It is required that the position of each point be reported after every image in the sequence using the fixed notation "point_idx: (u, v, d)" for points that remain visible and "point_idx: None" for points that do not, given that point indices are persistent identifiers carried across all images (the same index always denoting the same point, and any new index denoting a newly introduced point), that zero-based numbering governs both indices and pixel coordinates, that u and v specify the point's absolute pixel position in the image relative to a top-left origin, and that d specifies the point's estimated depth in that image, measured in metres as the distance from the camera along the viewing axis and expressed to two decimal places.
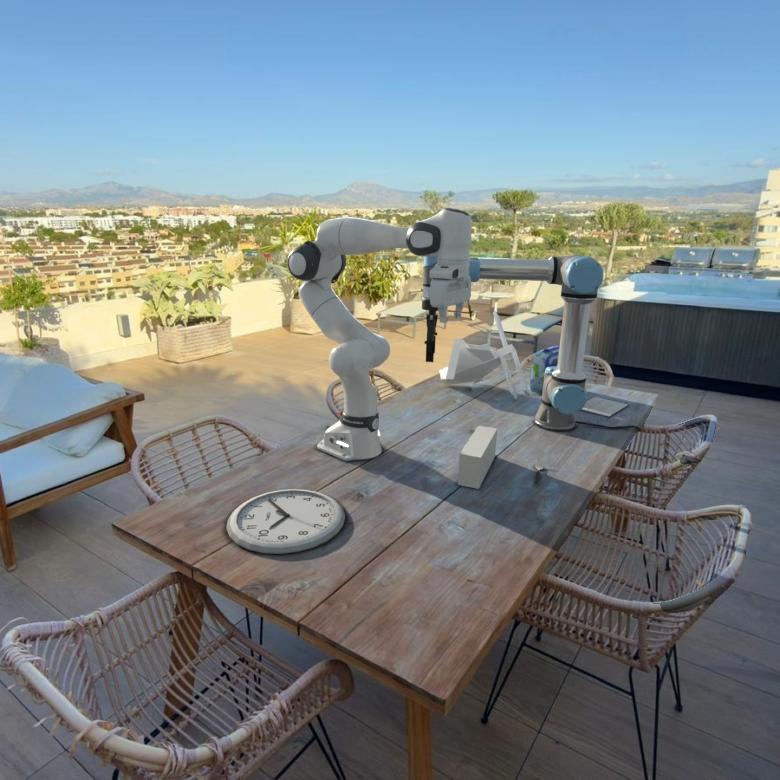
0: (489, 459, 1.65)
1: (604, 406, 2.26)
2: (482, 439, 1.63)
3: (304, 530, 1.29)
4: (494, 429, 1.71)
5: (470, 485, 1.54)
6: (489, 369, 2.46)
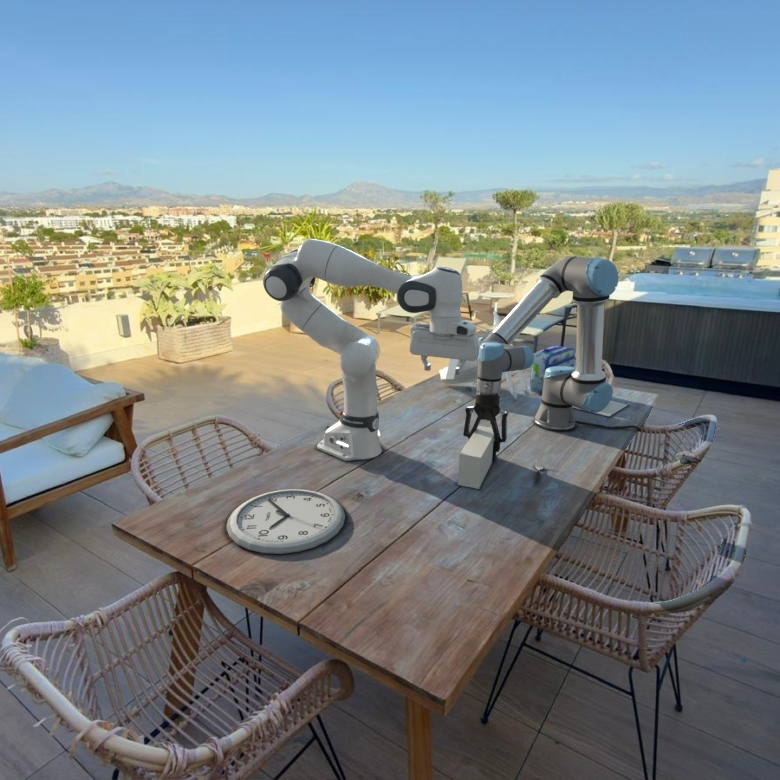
0: (489, 459, 1.65)
1: None
2: (482, 439, 1.63)
3: (304, 530, 1.29)
4: None
5: (470, 485, 1.54)
6: None
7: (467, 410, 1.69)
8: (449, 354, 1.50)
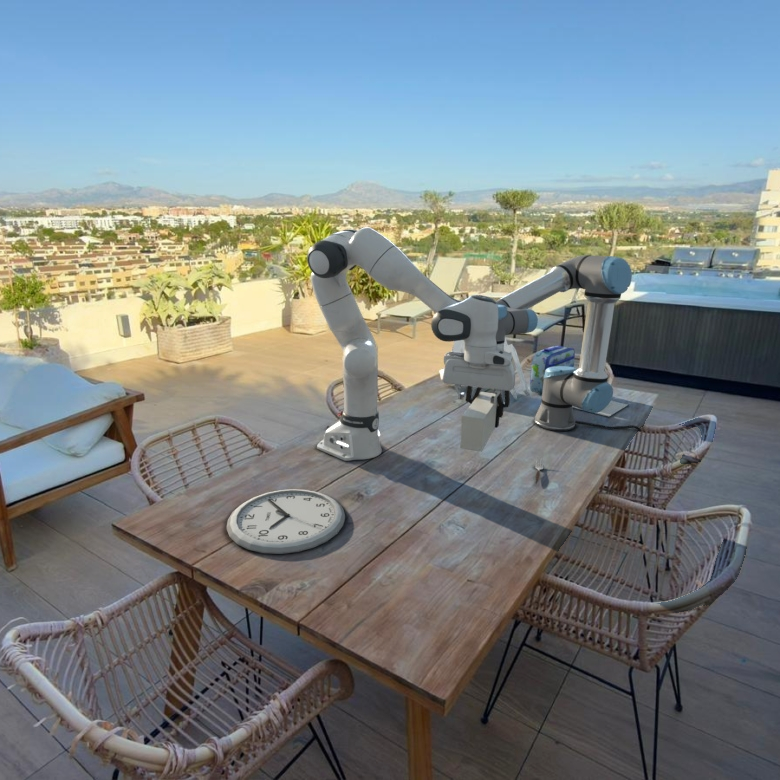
0: (492, 424, 1.61)
1: None
2: (484, 403, 1.60)
3: (304, 530, 1.29)
4: None
5: (473, 448, 1.50)
6: None
7: None
8: (484, 383, 1.46)
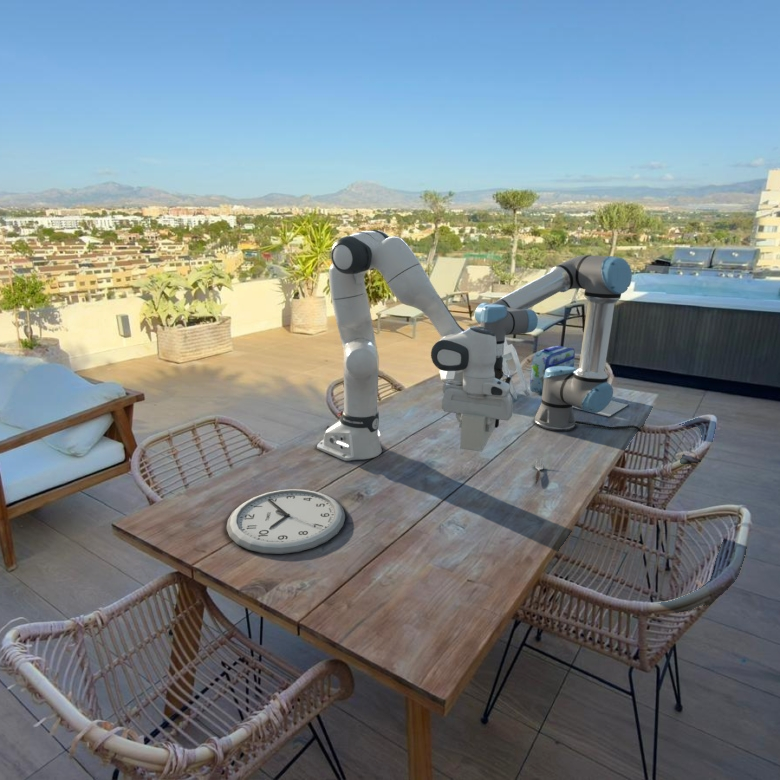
0: None
1: None
2: None
3: (304, 530, 1.29)
4: None
5: (473, 448, 1.50)
6: None
7: None
8: (483, 413, 1.49)
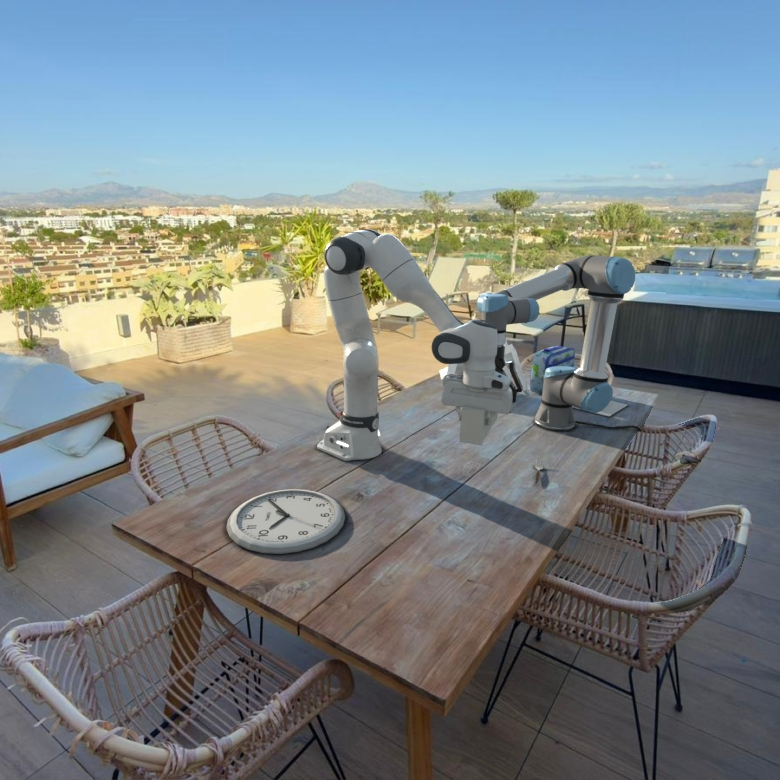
0: None
1: None
2: None
3: (304, 530, 1.29)
4: None
5: (472, 442, 1.50)
6: None
7: None
8: (482, 406, 1.48)
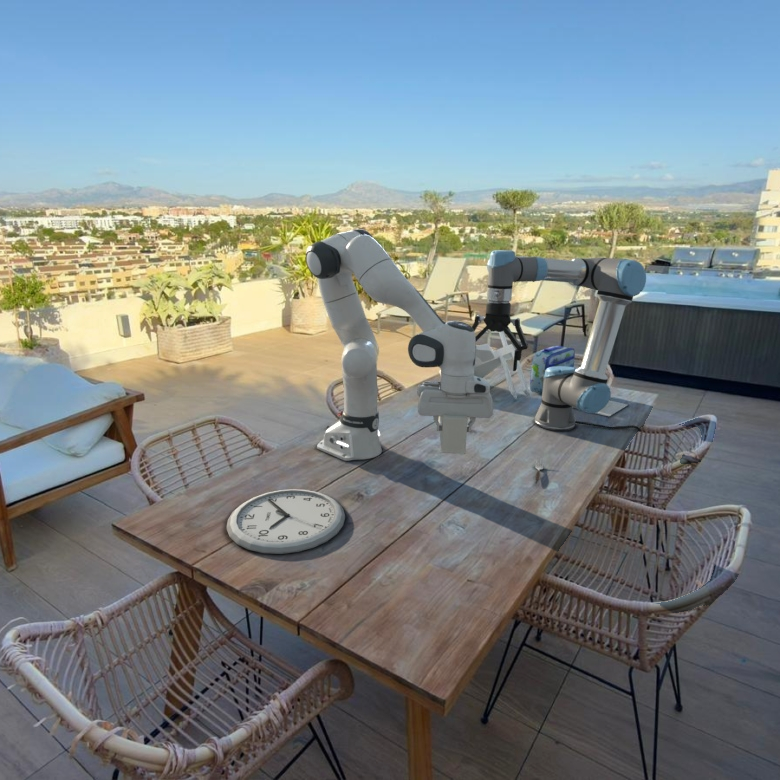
0: None
1: None
2: None
3: (304, 530, 1.29)
4: None
5: (456, 451, 1.41)
6: (489, 369, 2.46)
7: (477, 318, 1.65)
8: (463, 413, 1.40)
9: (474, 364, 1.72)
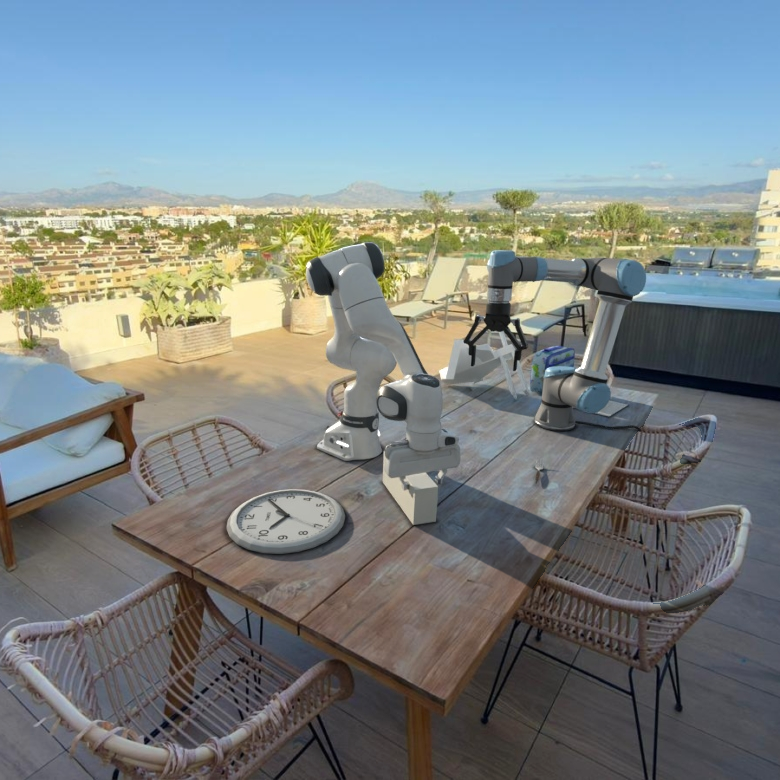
0: None
1: None
2: None
3: (304, 530, 1.29)
4: None
5: (427, 520, 1.35)
6: (489, 369, 2.46)
7: (477, 318, 1.65)
8: (433, 467, 1.34)
9: (474, 364, 1.72)
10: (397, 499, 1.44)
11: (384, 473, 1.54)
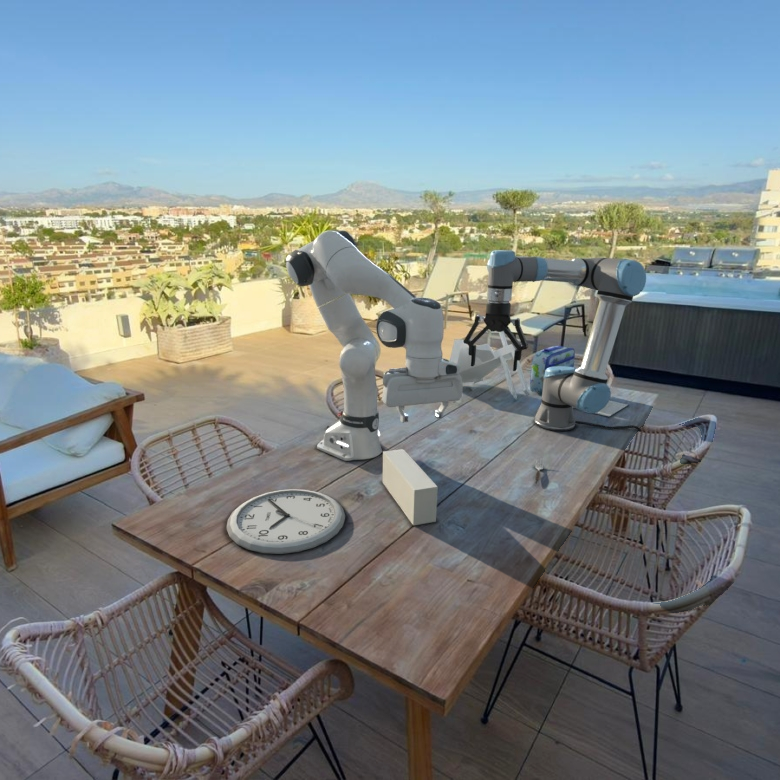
0: None
1: None
2: (408, 465, 1.44)
3: (304, 530, 1.29)
4: (402, 450, 1.54)
5: (427, 521, 1.35)
6: (489, 369, 2.46)
7: (477, 318, 1.65)
8: (434, 398, 1.28)
9: (474, 364, 1.72)
10: (397, 499, 1.44)
11: (384, 473, 1.54)
